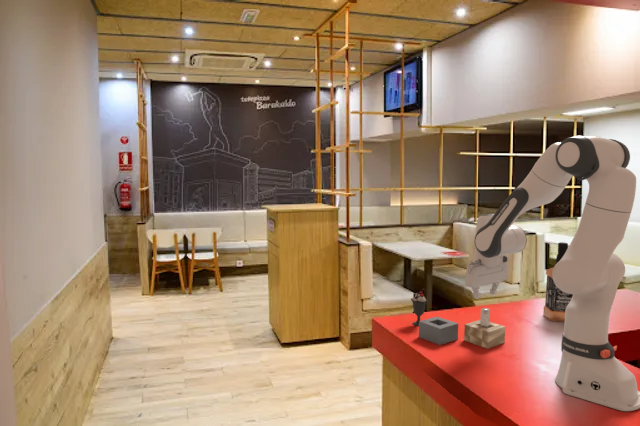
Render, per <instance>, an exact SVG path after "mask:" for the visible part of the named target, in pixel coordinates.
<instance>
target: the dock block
mask: <svg viewBox="0 0 640 426" xmlns="http://www.w3.org/2000/svg"><path fill="white" fill-rule="evenodd" d="M418 338H420V339H423V340H425V341H428V342H431V343H433V344H434V345H438V346H441V345H444V344H447V343H450V342H453V341H457V340H458V339H459V323H458V322H455V321H453V320H449V319H446V318H443V317H440V316H434V317H430V318H426V319H422V320H420V321H419V326H418Z"/></svg>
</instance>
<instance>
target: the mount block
mask: <svg viewBox="0 0 640 426" xmlns="http://www.w3.org/2000/svg"><path fill="white" fill-rule="evenodd" d="M463 331H464V333H463V341H465V342H468V343H471V344H473V345H475V346H479V347H482V348H485V349H487V350H488V349H491V348H493V347H497V346H500V345H502V344H505V341H506V326H505V325H502V324H498V323H495V322H493V321H492V322H491V321H490V327H489V328H487V329H486V328H483V327H480V319H478V320H474V321H471V322H468V323H465V324H464V330H463Z"/></svg>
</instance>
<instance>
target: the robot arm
mask: <svg viewBox="0 0 640 426" xmlns="http://www.w3.org/2000/svg"><path fill="white" fill-rule="evenodd" d="M630 161H631V153H630V150H629V148H628V147H627V146H626V144H624V143H622V142H621V141H619V140H616V139H613V138H606V137H605V138H604V137H601V136H597V135H596V136H595V135H594V136H593V135H587V136H586V135H585V136H584V135H575V136H571V137H567V138H565V139H564V140H562V141H560V142H559V141H558V142H554V143H552V144H551V145H549V147H547V149H545V151H544V152H543V153H542V154H541V156H540V157H539V158H538V159H537V161H536V162H535V163H534V165H533V167H532V169H531V170H530V171H529V173H528V174H527V176H526V177H525V178H524V179H523V181H522V182H521V183H520V184H519V185H518V186H517V187H516V188H515V189H514V190H513V191H511V192H510V194H509V195H508V196H507V197H506V198H505V200H504V201H503V202H502V204H501V205H500V207H499V208H498V209H497V210H496V212H495V213H487V214H486V213H484V214H481V215H479V217H478V218H477V222H476V224H475V225H476V226H475V236H474V241H473V242H474V254H473V255H474V257H473V258H474V259H473V260H471V261H470V263H469V264H468V265H467V268H466V272H465V276H464V277H465V278H464V285H465V286H466V287H468V288H471V289H472V292H473V298H474V299H476V300H479V299H480V298H481V295H482V293H480V287H484V286H487V285H491V288H490V289H489V294H490V295H496V294H497V289H498V288H499V286H500V282H504V281H506V279H507V277H508V267H509V266H508V262H509V256H508V255H512V254H517V253H520V252H523V251H524V249H525V248H526V246H527V234H526V233H525V231H524V229H522V228H521V227H520V226H517V225H514V223H515V222H516V220H517V219H518V218H519V217H520V216H521V215H523V214H524V213H526V212H528V211H530V210H532V209H535V208H538V207H542V206H545V205H548V204H550V203H552V202H554V201H555V200H556V199H557V198H558V197H559V196H560V195H561V194H562V193H563V191H564V190H565V189H566V187H567V185H568V184H569V182H570V181H571V179H572V178H573V177H574V178H575V179H577V180H578V181H584V180H586V181H587V182H588V183H587V184H588V186H589V187H588V193H587V197H586V200H585V203H584V208H583V210H582V214H581V217H580V221H579V225H578V227H577V230H576V232H575V234H574V237H572V240H571V242H570V244H568V249H567V251H566V252H565V254H564V256H563V257H562V259H561V260H560V261H559V262H558V263H557V264H556V263H555V265H554V266H553V267H554V268H553V272H552V277H553V281H554V283H555V285H556V286H557V287H558V288H559V289H560V290H561V291H563V292H565V293H568V294H573V296H572V299H571V301H570V302H569V304H568V305H567V307H566V310H565V322H564V327H563V328H564V329H563V334H562V336H561V345H560V346H561V350H560V351H561V359H560V363H559V368H558V370H557V371H558V372H557V373H556V376H555V378H554V381H555V383H556V384H557V385H558V386H559V387H560V389H561V390H562V393H564V394H565V395H568V396H572V397H575V398H578V399H582V400H584V401H588V402H590V403H591V402H592V403H594V404H598V405H601V406H605V407H608V408H611V409H614V410H618V411H621V412H632V411H635V410H639V409H640V391H639V390H638V383H637V380H636V379H637V378H636V376H635V374H634V373H633V372H631V371H630V370H629V369H628V368H627V367H626V366H625V365H624V364H623V363H622V362H621V361H620V360H619V359H617V358H616V357H615V352H616V351H617V348H618V345H614V346H613V345H612V344H611V343H610V341H609V328H610V327H609V326H610V318H611V317H610V316H611V311H612V309H613V304H614V302H615V299H616V298H615V297H616V295H617V291H618V287H619V285H620V283H621V281H622V280H623V278H624V277H625V275H626V267H625V266H626V265H625V263H624V261H623V260H622V259H621V257H619V256H618V255H617V254H615V253H614V251H615V250H616V248H617V247H618V246H619V244H621V242H622V241H624V238H625V233H626V231H627V227H628V225H629V221H630V218H631V213H632V210H633V207H634V201H635V199H636V190H637V177H636V175H635V173H634V172H633V171H632V170H630V169H628V168H627V167H628V165H629V164H630Z"/></svg>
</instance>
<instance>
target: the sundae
mask: <svg viewBox="0 0 640 426" xmlns="http://www.w3.org/2000/svg"><path fill="white" fill-rule="evenodd" d="M424 290H425V288H422V289H421V290H420V291H419V292H413V297H412V298H410V301H411V302H412V307H413V308H412V309H413V310H412V311H413V313H414V314H415V315H416V317H417V320H416V321H413V322H412V323H411V324H412V325H413V326H416V327H419V321H421V316H422V315H424V314H425V310H426V304H427V302H428V301H429V300H428V299H426V297H425V296H424V293H423V291H424Z"/></svg>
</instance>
